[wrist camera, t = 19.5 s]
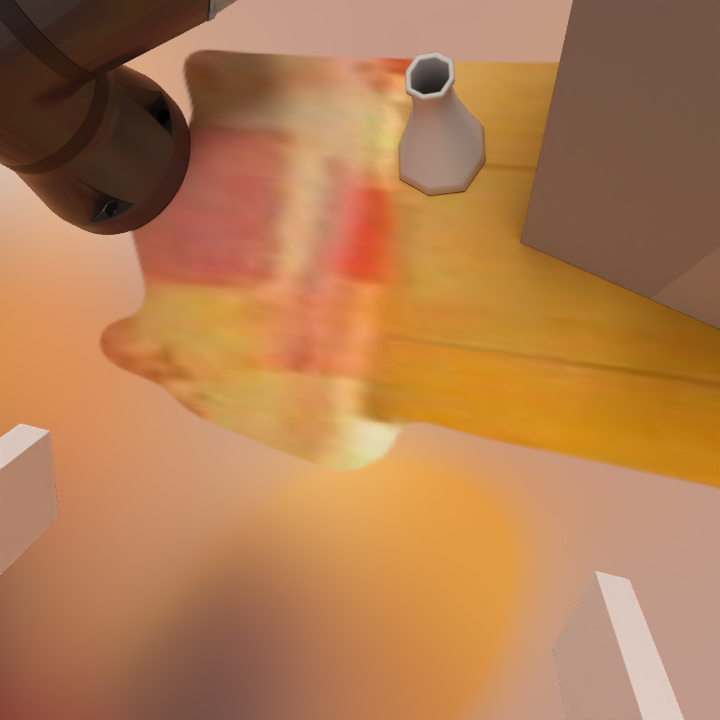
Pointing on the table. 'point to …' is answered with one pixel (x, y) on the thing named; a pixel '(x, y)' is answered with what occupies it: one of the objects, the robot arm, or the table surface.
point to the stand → (636, 152)
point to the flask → (438, 130)
